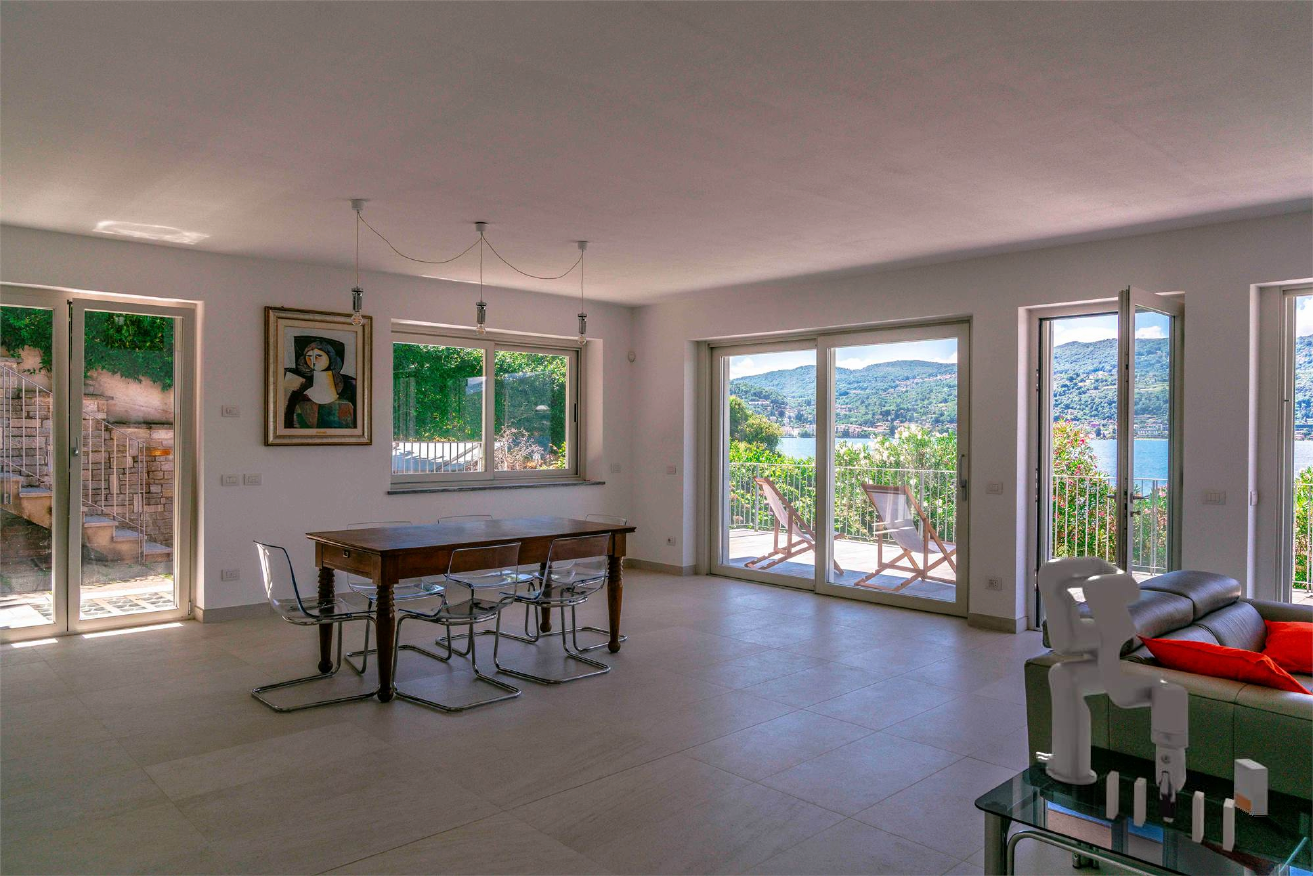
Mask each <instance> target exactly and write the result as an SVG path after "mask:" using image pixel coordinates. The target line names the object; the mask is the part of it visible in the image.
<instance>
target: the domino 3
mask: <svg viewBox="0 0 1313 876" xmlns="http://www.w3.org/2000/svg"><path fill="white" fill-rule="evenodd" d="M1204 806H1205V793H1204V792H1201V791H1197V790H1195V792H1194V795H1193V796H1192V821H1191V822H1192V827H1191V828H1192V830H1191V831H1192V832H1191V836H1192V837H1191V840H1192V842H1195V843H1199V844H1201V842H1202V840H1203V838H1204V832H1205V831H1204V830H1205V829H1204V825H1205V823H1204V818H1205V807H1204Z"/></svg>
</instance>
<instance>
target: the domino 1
mask: <svg viewBox="0 0 1313 876" xmlns="http://www.w3.org/2000/svg"><path fill="white" fill-rule="evenodd" d="M1119 776H1120V775H1119V772H1118V771H1114V770H1111V771H1110V772H1109V774H1107V777H1106V816H1105V817H1106V818H1108V819H1111V820H1115V818H1116V817H1117V815H1118V814H1119V792H1120V791H1119V790H1120V789H1119V788H1120V787H1119V785H1120V784H1119V783H1120V782H1119V780H1120V779H1119V778H1120V777H1119Z"/></svg>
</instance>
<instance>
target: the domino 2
mask: <svg viewBox="0 0 1313 876" xmlns="http://www.w3.org/2000/svg"><path fill="white" fill-rule="evenodd" d="M1133 789H1134V792H1133V794H1134V797H1133V825H1134V826H1136V827H1140V828H1142V827H1143V825H1144V823H1145V822H1146V818H1147V816H1146V815H1147V812H1146V811H1147V806H1146V805H1147V779H1146V778H1143V777H1140V776H1139V777H1138V778H1137V779H1136V780H1135V782H1134V787H1133Z"/></svg>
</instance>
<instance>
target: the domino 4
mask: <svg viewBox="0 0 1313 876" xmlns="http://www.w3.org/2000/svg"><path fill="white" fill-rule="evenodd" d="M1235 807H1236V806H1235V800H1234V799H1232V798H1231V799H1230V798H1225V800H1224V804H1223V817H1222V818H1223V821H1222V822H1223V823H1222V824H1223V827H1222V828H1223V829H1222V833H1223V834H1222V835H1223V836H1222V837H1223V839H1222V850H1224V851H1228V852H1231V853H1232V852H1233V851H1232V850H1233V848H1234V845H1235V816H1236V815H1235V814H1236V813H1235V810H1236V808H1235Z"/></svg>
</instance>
